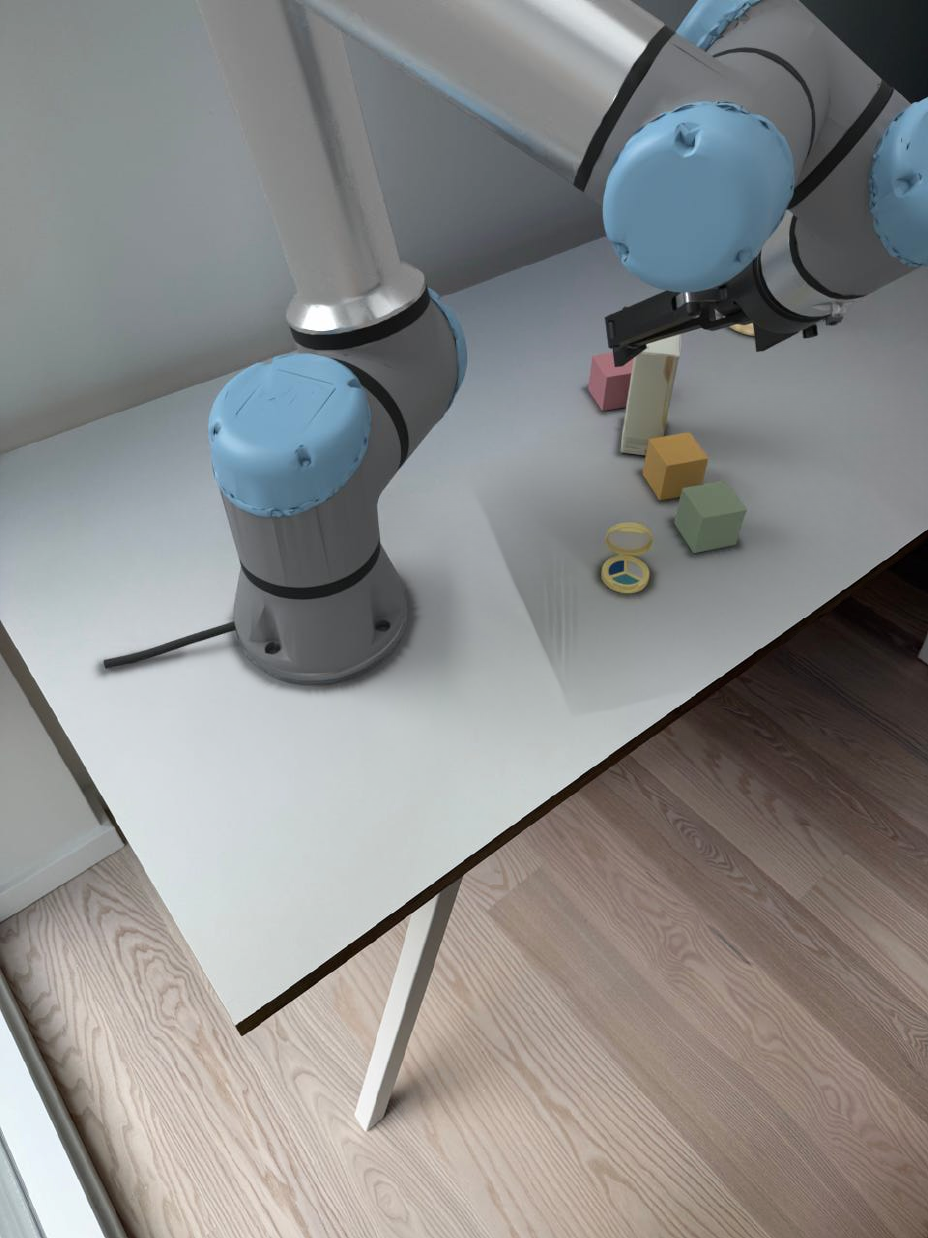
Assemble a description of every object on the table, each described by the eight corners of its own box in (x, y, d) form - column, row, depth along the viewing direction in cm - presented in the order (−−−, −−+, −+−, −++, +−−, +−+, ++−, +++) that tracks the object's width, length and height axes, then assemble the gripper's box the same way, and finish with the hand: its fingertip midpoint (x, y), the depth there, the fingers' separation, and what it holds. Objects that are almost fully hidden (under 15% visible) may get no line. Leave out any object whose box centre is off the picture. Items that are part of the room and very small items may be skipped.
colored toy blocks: (693, 553, 86) (702, 518, 82) (587, 389, 104) (592, 355, 101) (735, 544, 87) (746, 509, 83) (623, 383, 105) (629, 349, 101)
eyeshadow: (600, 590, 82) (606, 552, 79) (602, 553, 86) (608, 514, 82) (648, 595, 82) (657, 557, 78) (648, 557, 85) (656, 519, 82)
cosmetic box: (660, 458, 95) (680, 357, 86) (619, 454, 96) (635, 353, 87) (662, 423, 100) (682, 323, 90) (623, 419, 100) (639, 319, 91)
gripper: (639, 337, 59) (561, 400, 80) (981, 302, 62) (819, 371, 83) (625, 222, 58) (550, 315, 79) (971, 192, 62) (811, 289, 83)
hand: (688, 344), depth 81 cm, fingers open, 13 cm apart
